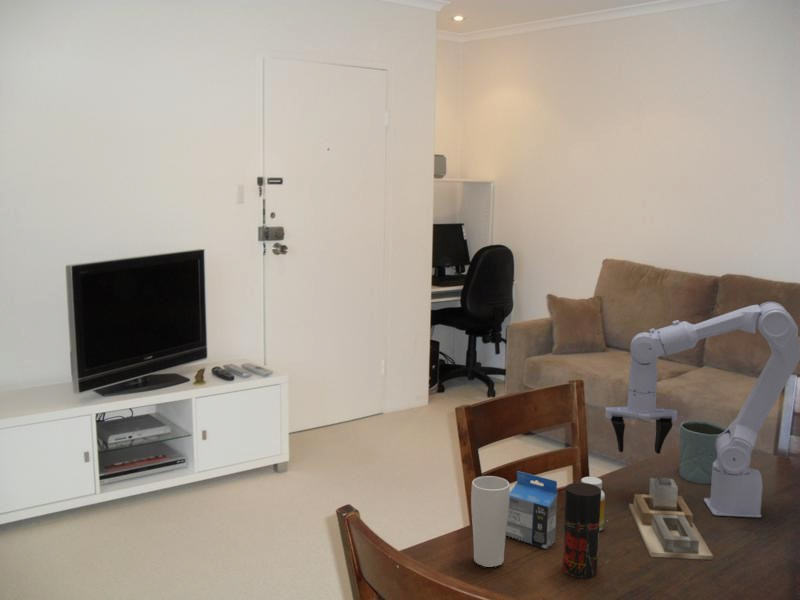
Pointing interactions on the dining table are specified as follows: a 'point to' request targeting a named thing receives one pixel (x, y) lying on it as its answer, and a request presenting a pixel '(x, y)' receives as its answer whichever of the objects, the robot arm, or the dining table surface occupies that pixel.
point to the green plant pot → (698, 450)
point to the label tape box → (533, 510)
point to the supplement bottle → (598, 483)
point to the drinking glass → (489, 519)
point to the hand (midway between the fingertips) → (638, 451)
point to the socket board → (669, 530)
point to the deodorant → (581, 530)
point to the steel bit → (662, 494)
